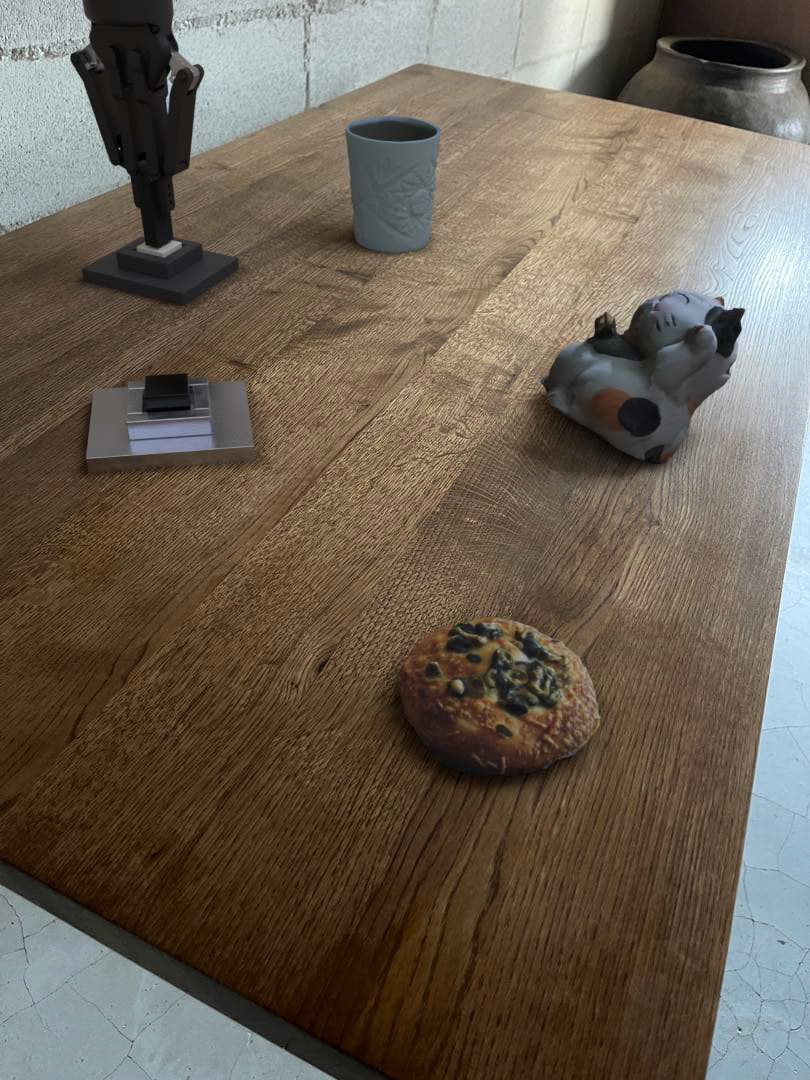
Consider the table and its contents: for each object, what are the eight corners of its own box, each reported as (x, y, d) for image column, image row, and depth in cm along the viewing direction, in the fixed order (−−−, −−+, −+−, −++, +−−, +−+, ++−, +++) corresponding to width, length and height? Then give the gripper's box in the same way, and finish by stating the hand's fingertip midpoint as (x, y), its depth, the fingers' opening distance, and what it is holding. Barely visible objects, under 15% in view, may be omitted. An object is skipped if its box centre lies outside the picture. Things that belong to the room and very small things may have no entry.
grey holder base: (88, 474, 67) (81, 439, 65) (96, 404, 74) (90, 371, 73) (255, 461, 69) (252, 427, 67) (246, 394, 77) (243, 362, 75)
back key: (138, 261, 92) (136, 246, 92) (157, 251, 95) (155, 236, 94) (164, 268, 92) (162, 252, 91) (183, 257, 94) (181, 242, 93)
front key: (147, 414, 69) (144, 396, 68) (147, 393, 71) (144, 375, 70) (190, 411, 69) (188, 393, 68) (189, 390, 72) (187, 372, 71)
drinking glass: (435, 257, 101) (442, 143, 93) (343, 254, 101) (343, 139, 93) (432, 224, 109) (439, 116, 101) (347, 221, 109) (347, 112, 101)
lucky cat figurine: (541, 373, 81) (636, 231, 76) (655, 447, 81) (758, 312, 76) (524, 411, 68) (638, 242, 62) (660, 500, 68) (787, 340, 62)
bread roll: (380, 766, 47) (389, 692, 45) (410, 638, 57) (420, 571, 54) (594, 806, 47) (617, 733, 44) (589, 670, 56) (607, 603, 54)
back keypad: (83, 281, 92) (78, 252, 91) (143, 248, 100) (139, 221, 98) (184, 306, 89) (181, 277, 87) (239, 270, 96) (237, 242, 94)
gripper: (214, -31, 78) (235, 241, 93) (89, -45, 82) (128, 218, 97) (162, -20, 73) (193, 267, 87) (30, -36, 76) (82, 242, 91)
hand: (159, 241), depth 92 cm, fingers closed
